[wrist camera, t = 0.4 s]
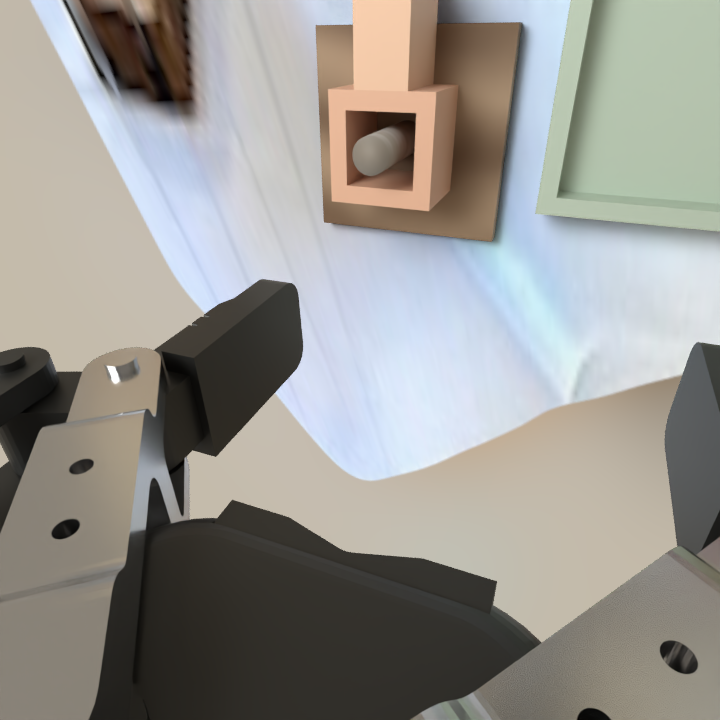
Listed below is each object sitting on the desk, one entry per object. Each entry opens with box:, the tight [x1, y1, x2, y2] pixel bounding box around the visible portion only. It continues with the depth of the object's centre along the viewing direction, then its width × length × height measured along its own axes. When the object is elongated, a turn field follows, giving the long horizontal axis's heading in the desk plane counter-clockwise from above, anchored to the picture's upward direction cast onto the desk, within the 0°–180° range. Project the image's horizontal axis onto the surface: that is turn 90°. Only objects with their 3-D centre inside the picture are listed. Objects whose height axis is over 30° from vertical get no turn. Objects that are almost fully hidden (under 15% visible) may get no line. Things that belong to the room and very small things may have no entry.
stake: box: [316, 22, 522, 242], centre depth 31 cm, size 12×12×8 cm
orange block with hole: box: [328, 0, 459, 211], centre depth 30 cm, size 12×6×5 cm, turn 0°
